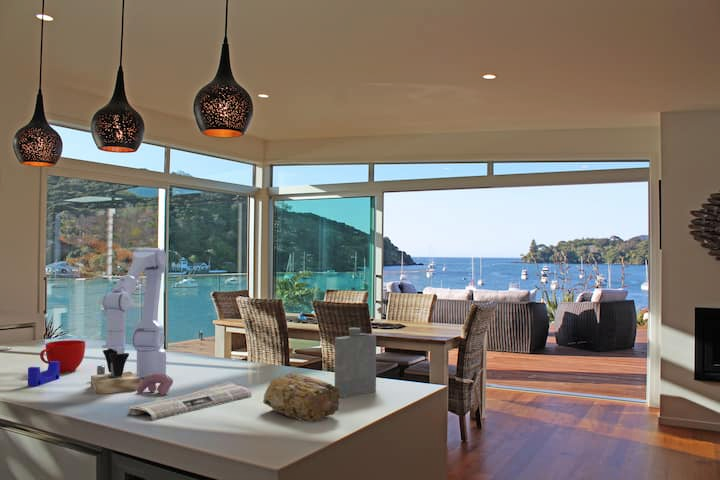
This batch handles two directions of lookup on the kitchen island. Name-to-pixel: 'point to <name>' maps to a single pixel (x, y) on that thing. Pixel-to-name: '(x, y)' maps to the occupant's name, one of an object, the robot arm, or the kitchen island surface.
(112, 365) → the long pin
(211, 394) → the newspaper
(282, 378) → the petrified wood
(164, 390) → the pink textured arched piece
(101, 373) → the short pin
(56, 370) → the cable clip
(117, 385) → the bore block
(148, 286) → the robot arm
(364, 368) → the hip flask
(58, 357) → the ceramic cup
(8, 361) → the kitchen island surface
